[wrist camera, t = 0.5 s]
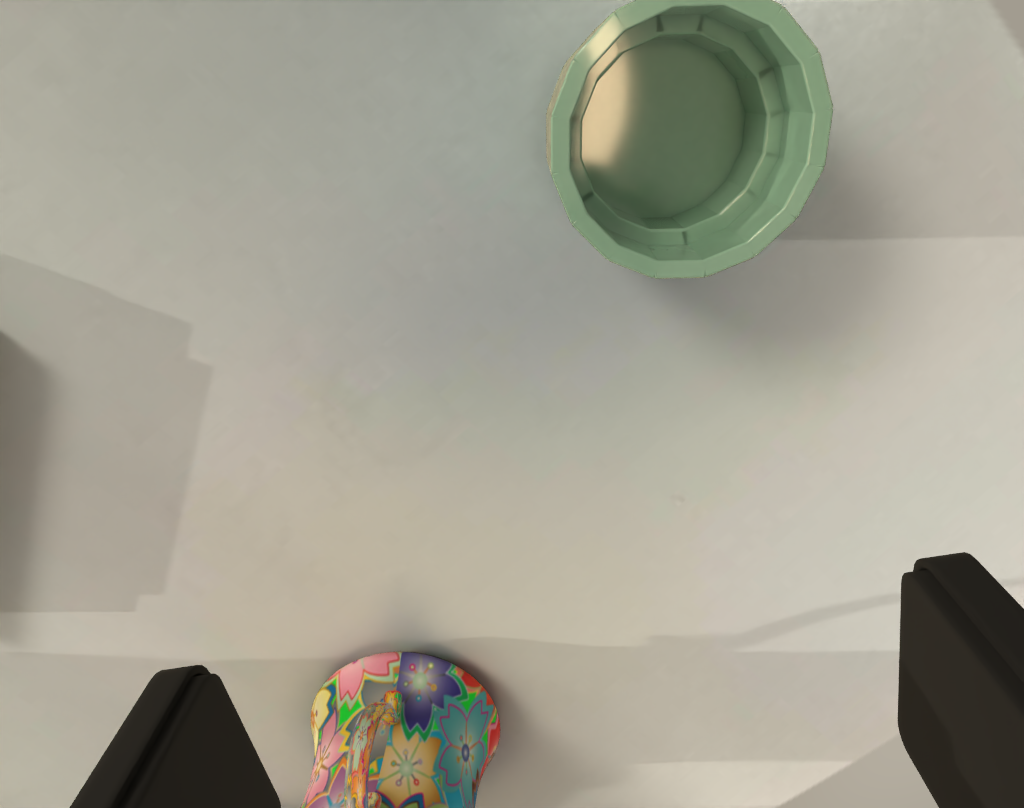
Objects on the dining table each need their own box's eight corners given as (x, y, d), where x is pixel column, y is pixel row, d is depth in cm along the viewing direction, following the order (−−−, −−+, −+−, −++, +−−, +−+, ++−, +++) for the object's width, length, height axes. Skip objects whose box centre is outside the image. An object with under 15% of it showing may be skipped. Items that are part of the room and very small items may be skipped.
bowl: (599, -35, 21) (620, -71, 16) (810, 61, 22) (887, 52, 17) (513, 196, 23) (510, 222, 19) (704, 273, 24) (746, 315, 20)
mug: (508, 783, 34) (501, 1054, 25) (318, 777, 35) (236, 1046, 25) (512, 582, 30) (505, 822, 20) (291, 577, 30) (177, 812, 20)
